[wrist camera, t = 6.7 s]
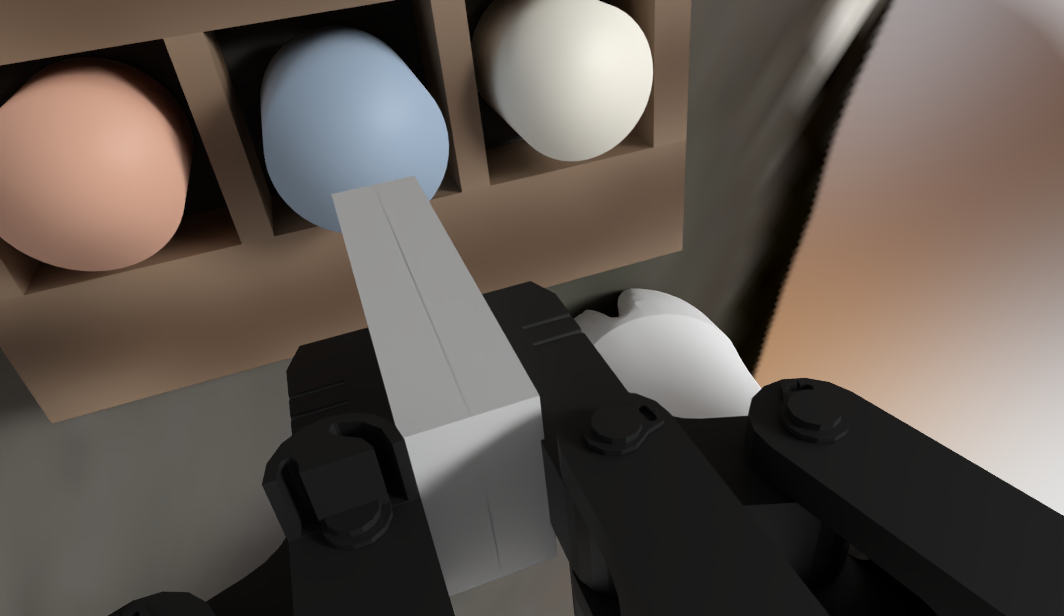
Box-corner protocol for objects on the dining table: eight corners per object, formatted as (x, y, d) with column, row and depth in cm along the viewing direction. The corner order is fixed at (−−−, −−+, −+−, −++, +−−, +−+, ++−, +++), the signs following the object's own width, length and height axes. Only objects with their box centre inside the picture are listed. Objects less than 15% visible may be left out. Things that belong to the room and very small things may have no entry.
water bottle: (711, 330, 32) (1464, 1077, 12) (597, 429, 33) (1129, 1275, 13) (635, 238, 28) (1604, 1158, 8) (506, 354, 29) (1094, 1445, 9)
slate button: (237, 40, 18) (236, 77, 15) (401, 13, 19) (432, 42, 16) (286, 192, 21) (295, 252, 17) (429, 161, 22) (461, 212, 18)
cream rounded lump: (459, -7, 21) (499, 16, 18) (593, -29, 22) (653, -11, 19) (479, 133, 23) (517, 175, 20) (599, 107, 24) (652, 144, 21)
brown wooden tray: (-240, -139, 15) (-331, -139, 12) (644, -225, 19) (699, -237, 17) (72, 364, 23) (51, 423, 20) (643, 216, 27) (682, 249, 25)
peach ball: (-22, 73, 18) (-79, 118, 15) (158, 43, 19) (141, 79, 16) (60, 224, 20) (27, 290, 17) (215, 190, 21) (211, 247, 18)
